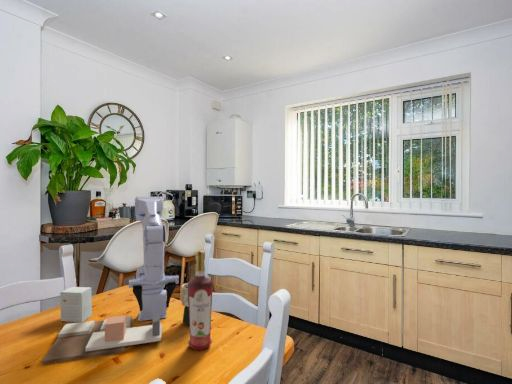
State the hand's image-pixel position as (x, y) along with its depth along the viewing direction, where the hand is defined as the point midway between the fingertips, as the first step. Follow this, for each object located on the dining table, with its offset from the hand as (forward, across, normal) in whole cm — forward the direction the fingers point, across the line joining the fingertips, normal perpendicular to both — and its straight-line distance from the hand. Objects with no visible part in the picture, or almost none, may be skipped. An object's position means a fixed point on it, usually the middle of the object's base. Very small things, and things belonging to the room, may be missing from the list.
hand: (154, 307), depth 91 cm
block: (+7, -11, 0) cm, 13 cm away
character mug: (+10, +12, +7) cm, 17 cm away
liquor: (+10, +13, -9) cm, 18 cm away
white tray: (+8, -8, 0) cm, 11 cm away
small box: (+10, -27, +22) cm, 36 cm away
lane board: (+9, -18, +5) cm, 21 cm away
